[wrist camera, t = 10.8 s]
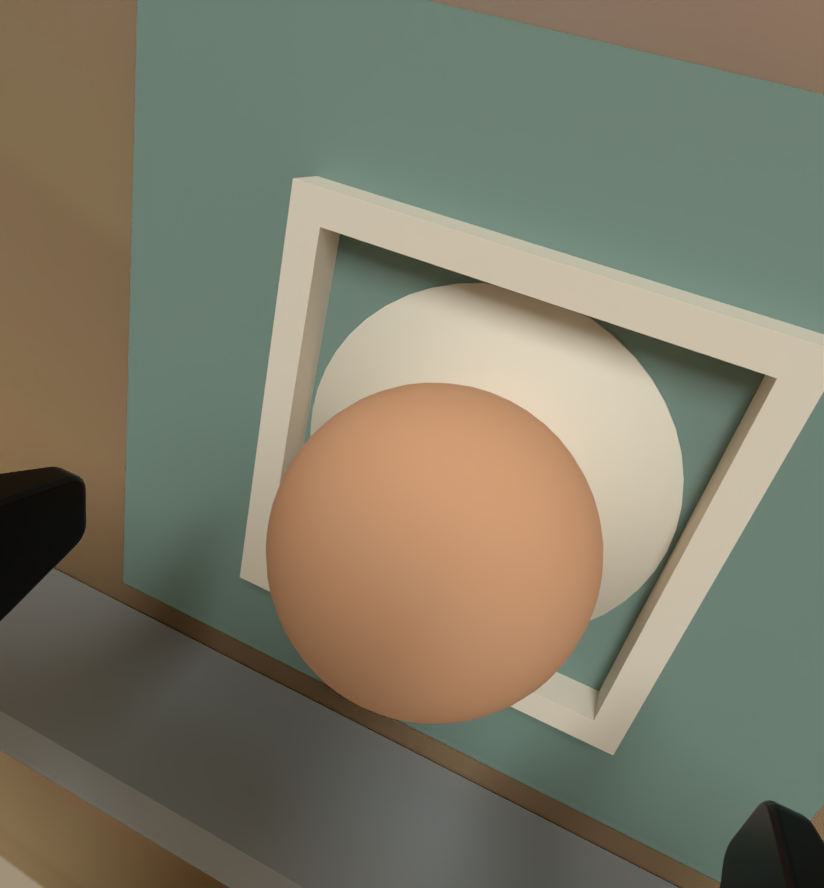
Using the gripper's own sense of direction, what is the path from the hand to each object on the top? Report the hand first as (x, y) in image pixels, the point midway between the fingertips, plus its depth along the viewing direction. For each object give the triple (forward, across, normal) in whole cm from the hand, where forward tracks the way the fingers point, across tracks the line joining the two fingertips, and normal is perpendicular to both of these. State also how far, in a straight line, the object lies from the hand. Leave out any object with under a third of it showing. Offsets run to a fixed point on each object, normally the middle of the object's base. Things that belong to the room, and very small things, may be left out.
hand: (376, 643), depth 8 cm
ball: (+2, 0, 0) cm, 2 cm away
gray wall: (+5, -1, +9) cm, 11 cm away
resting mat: (+5, 0, 0) cm, 5 cm away
